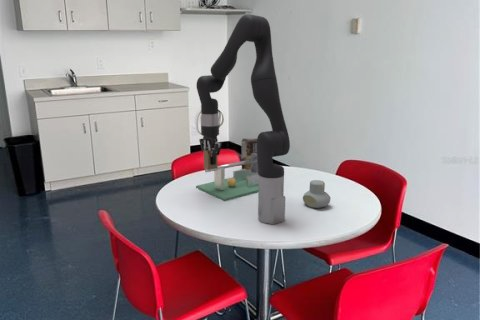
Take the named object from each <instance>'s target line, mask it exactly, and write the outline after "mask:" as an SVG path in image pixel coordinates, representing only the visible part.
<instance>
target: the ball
mask: <svg viewBox="0 0 480 320" xmlns="http://www.w3.org/2000/svg"><path fill="white" fill-rule="evenodd" d="M229 178H230V179H228V181H227V184H228V185H229V186H230V187H233V186H235V185H236V180H235V179H234V178H232V177H229Z"/></svg>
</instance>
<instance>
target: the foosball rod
mask: <svg viewBox="0 0 480 320" xmlns="http://www.w3.org/2000/svg"><path fill="white" fill-rule="evenodd" d="M212 149H214V148H212ZM213 152H214V151H213ZM202 153H203V169H204V171H205V173H210V172H214V173H213V174H214V180H213V182H214V185H215V188H217V189H219V190H225V179H226V177H225V176H226V174H225V171H226V170H225V169H229V168H234V167H239V166H242V165H244V164H248V163H253V162H257V158H255V159H250V160H246V161H242V160H241V161H236V162H231V163H226V164H221V165H218V164H219V163H218V162H219V161H218V159H219V157H218V156H219V155H217V156H216V164H215V165H211V155H210V151H209V149H206V150H203V152H202Z"/></svg>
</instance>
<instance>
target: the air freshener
mask: <svg viewBox="0 0 480 320" xmlns="http://www.w3.org/2000/svg"><path fill="white" fill-rule="evenodd" d="M325 186H326V184H325V182H324V180H320V179H314V180H310V181H309V190H308V191H306V192H305V193H304V194H303V196H302V201H303V203H304V204H305V205H306V206H308V207H310V208H312V209H319V208H320V209H321V208H325V207H327V206H328V205H329V204H330V203H331V197H330V195H329V193H328V192H327V191H325V188H326V187H325Z"/></svg>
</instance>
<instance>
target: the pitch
mask: <svg viewBox="0 0 480 320" xmlns="http://www.w3.org/2000/svg"><path fill="white" fill-rule="evenodd" d="M230 178H233V176H232V177H228V178H225V190H219V189H217V188H215V185H214V181H211V182H206V183H203V184H197V185H195V187H196V189H197V188H198V190H200V191H202V192H204V193H206V194H209V195H210V196H212V197H215V198H216V199H219V200H220V201H221V200H222V201H223V202H226V201H231V200H233V199H237V198H241V197H245V196H249V195H252V194H256V193H257V194H258V185H256V186H252V187H247V181H245V180H241V181H237V182H236V185H235V186H233V187H230V186H229V185H228V184H227V181H228V179H230Z"/></svg>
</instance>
